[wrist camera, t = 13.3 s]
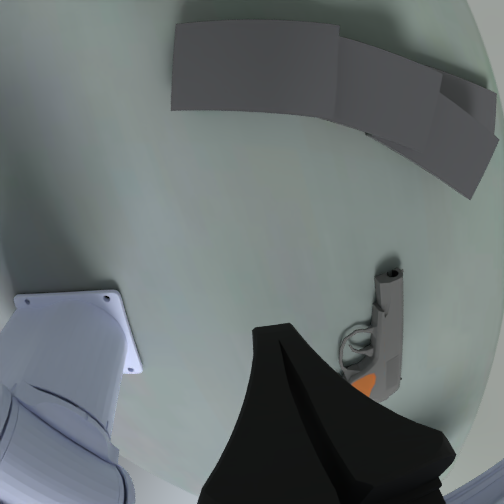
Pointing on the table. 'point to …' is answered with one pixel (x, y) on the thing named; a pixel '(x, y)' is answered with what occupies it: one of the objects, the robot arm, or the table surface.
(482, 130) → the domino
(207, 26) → the domino
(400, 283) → the handgun
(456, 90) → the domino end
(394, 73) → the domino
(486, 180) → the table surface
